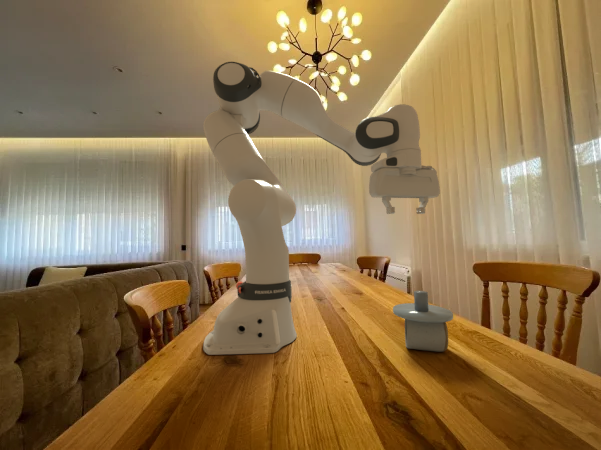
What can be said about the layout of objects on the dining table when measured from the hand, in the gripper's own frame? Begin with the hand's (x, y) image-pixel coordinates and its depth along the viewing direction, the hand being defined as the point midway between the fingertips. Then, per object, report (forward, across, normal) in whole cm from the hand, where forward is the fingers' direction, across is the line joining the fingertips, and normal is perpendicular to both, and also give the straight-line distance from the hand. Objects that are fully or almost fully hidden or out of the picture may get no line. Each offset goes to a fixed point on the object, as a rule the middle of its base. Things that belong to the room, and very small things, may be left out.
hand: (406, 213), depth 70 cm
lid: (+24, +5, +12) cm, 27 cm away
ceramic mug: (+31, +4, +10) cm, 33 cm away
